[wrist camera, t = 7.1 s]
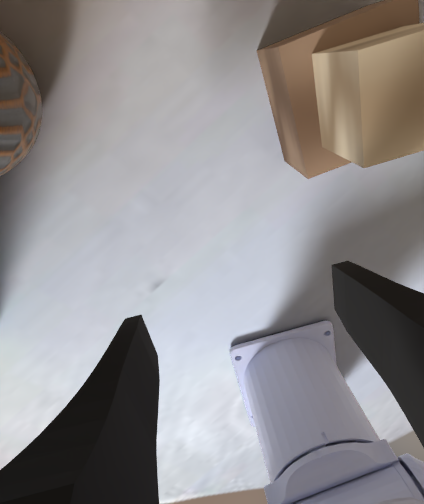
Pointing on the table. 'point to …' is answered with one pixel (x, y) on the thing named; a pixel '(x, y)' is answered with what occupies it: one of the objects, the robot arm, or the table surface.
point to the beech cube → (372, 96)
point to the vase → (17, 106)
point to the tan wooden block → (303, 83)
